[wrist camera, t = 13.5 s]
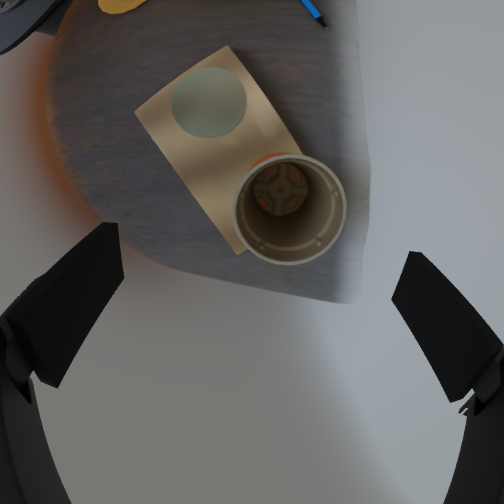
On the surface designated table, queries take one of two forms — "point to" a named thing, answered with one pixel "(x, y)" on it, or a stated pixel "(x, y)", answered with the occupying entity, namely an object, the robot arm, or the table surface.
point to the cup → (119, 5)
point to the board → (215, 132)
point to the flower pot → (289, 209)
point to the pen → (314, 12)
